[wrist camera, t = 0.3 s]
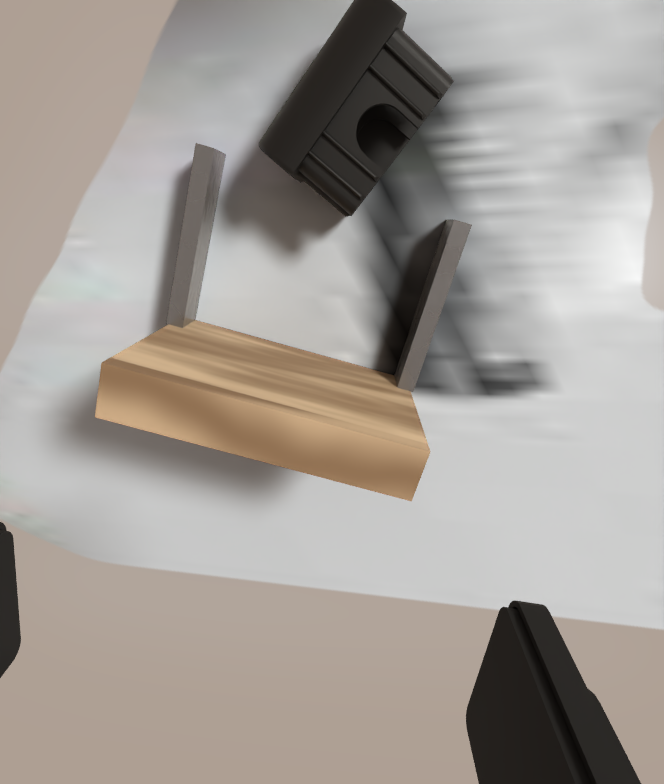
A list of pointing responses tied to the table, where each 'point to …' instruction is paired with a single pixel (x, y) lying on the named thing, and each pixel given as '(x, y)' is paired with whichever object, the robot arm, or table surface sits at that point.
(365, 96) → the end cap
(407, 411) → the wall board
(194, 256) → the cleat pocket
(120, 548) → the table surface
